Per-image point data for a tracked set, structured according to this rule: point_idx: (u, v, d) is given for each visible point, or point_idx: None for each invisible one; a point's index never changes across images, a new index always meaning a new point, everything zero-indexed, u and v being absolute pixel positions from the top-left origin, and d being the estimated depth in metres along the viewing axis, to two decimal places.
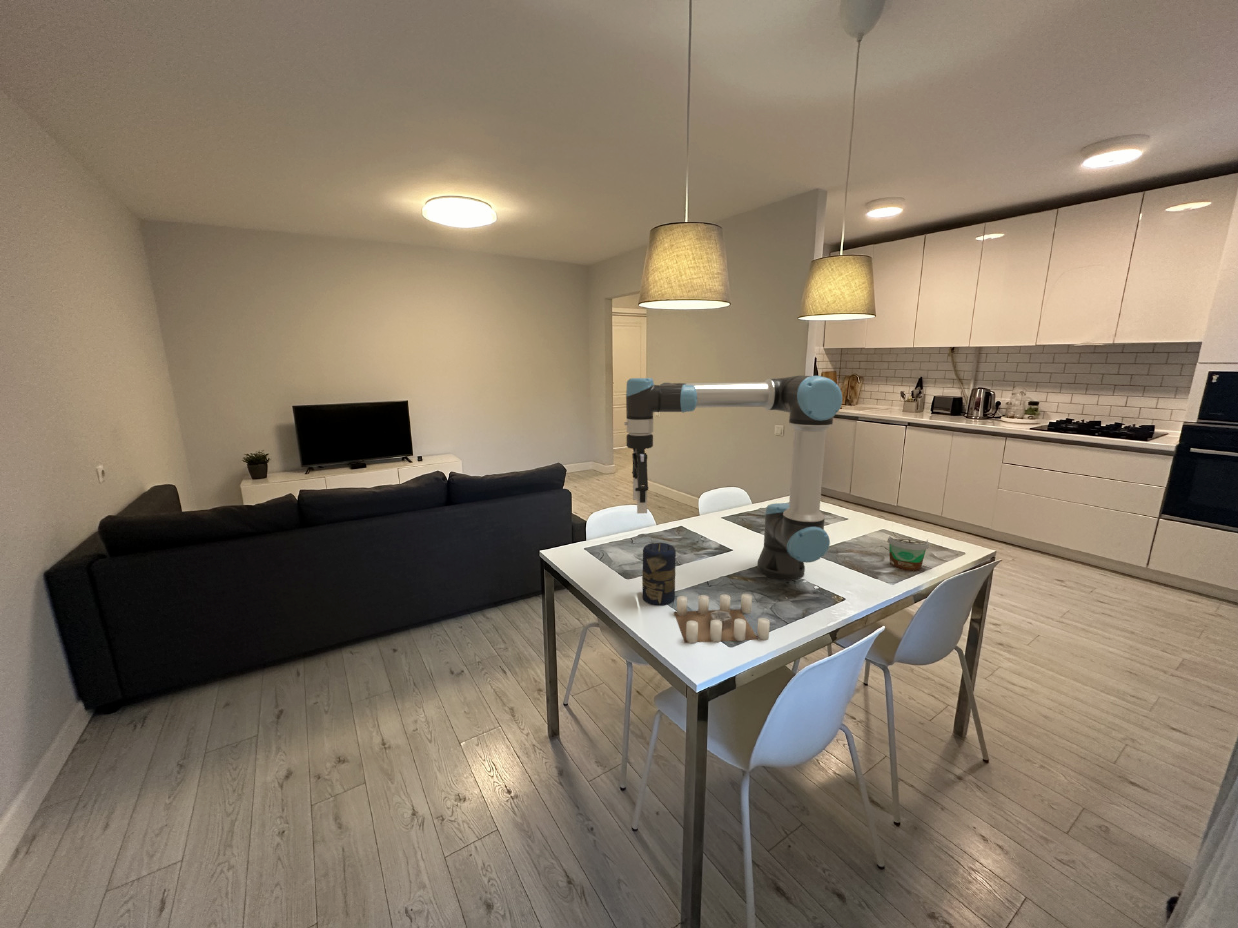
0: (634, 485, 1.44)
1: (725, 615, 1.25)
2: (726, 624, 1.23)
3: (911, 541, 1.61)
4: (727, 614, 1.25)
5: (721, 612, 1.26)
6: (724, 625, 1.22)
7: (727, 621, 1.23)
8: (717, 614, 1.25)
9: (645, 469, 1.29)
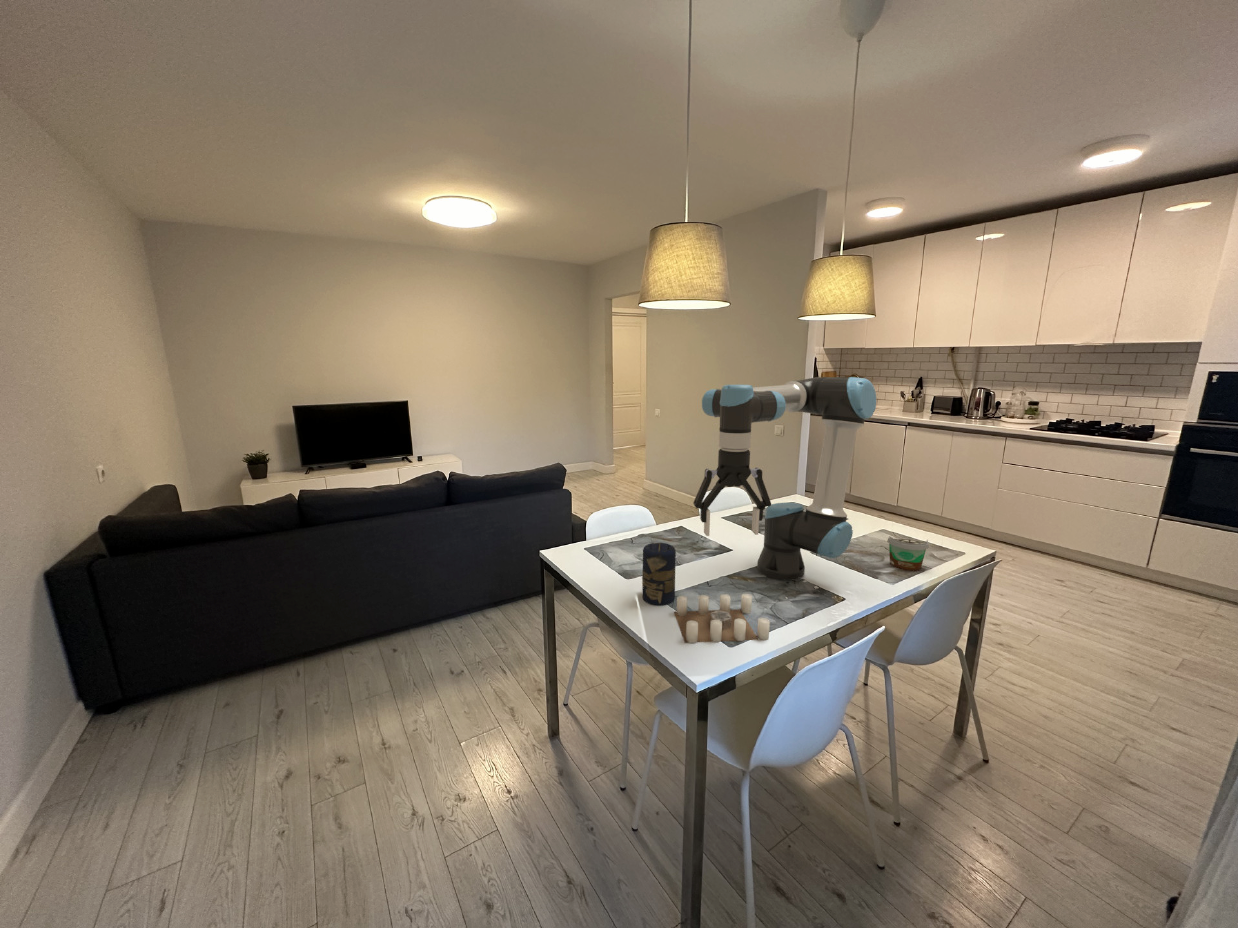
0: (753, 514, 1.21)
1: (725, 615, 1.25)
2: (726, 624, 1.23)
3: (911, 541, 1.61)
4: (727, 614, 1.25)
5: (721, 612, 1.26)
6: (724, 625, 1.22)
7: (727, 621, 1.23)
8: (717, 614, 1.25)
9: (703, 486, 1.17)
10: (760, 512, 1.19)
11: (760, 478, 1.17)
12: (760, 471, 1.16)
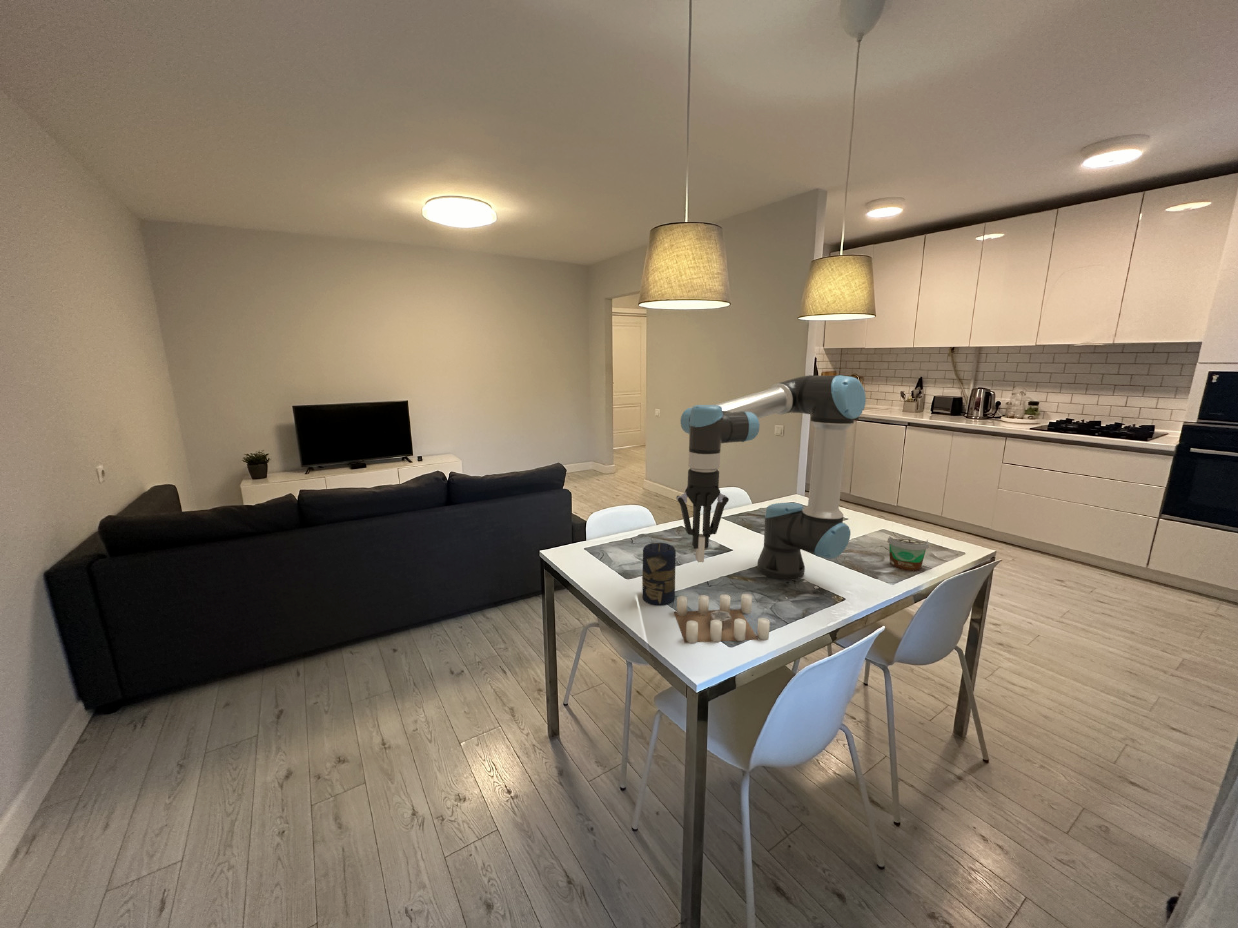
0: None
1: (725, 615, 1.25)
2: (726, 624, 1.23)
3: (911, 541, 1.61)
4: (727, 614, 1.25)
5: (721, 612, 1.26)
6: (724, 625, 1.22)
7: (727, 621, 1.23)
8: (717, 614, 1.25)
9: (683, 513, 1.17)
10: (706, 540, 1.19)
11: (723, 505, 1.17)
12: (727, 499, 1.17)
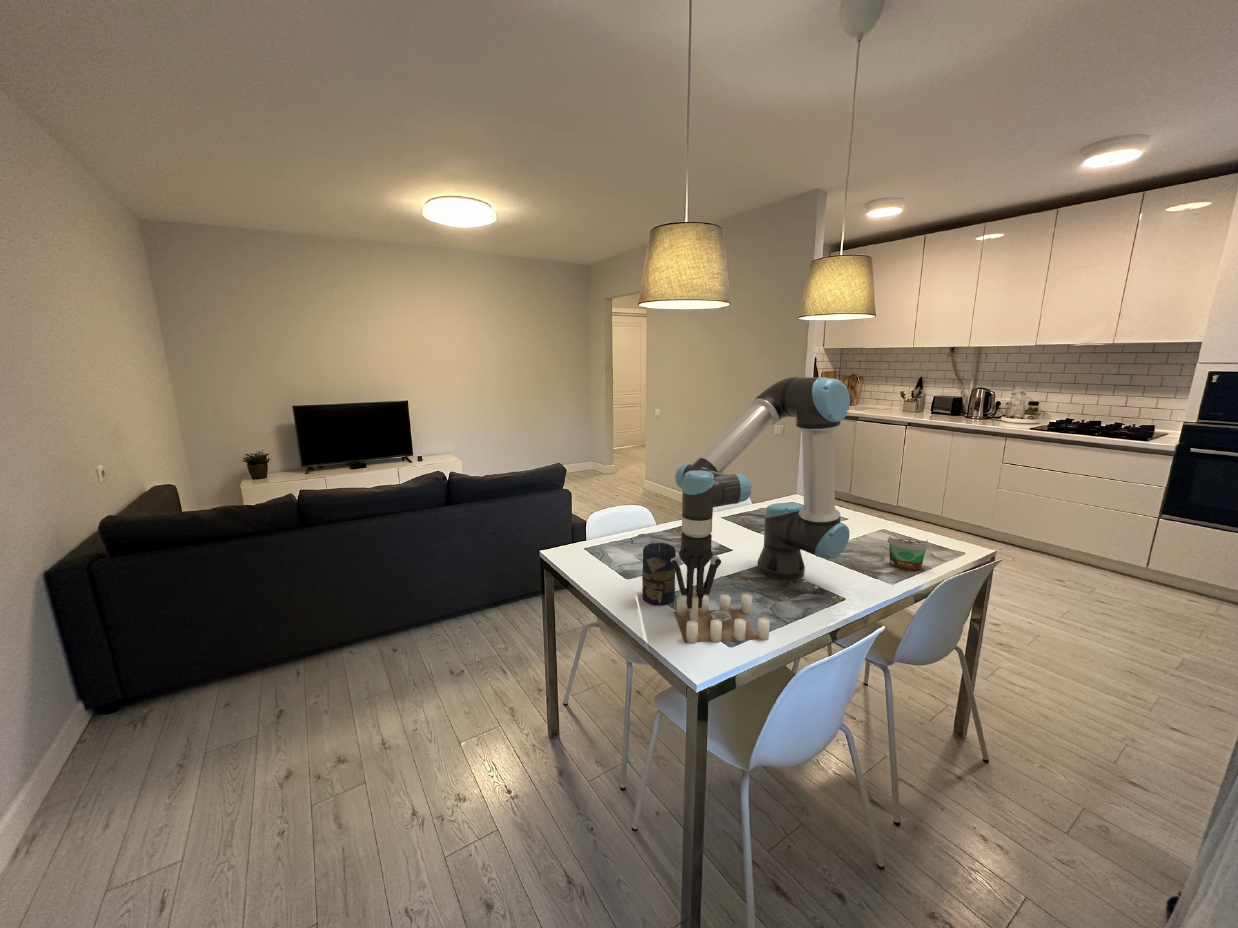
0: None
1: (725, 615, 1.25)
2: (726, 624, 1.23)
3: (911, 541, 1.61)
4: (727, 614, 1.25)
5: (721, 612, 1.26)
6: (724, 625, 1.22)
7: (727, 621, 1.23)
8: (717, 614, 1.25)
9: (676, 575, 1.21)
10: (699, 600, 1.23)
11: (715, 567, 1.21)
12: (719, 561, 1.20)
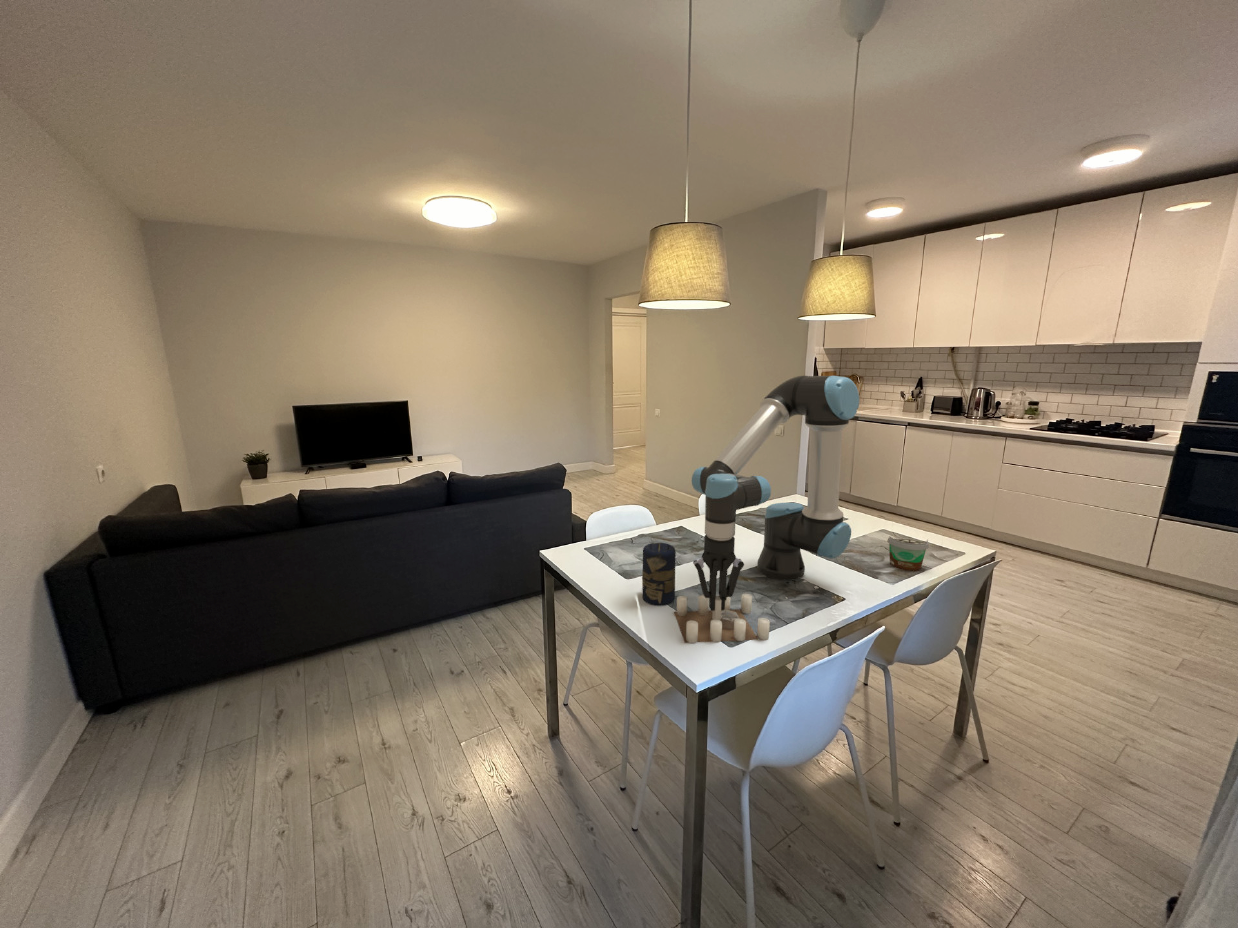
0: None
1: (733, 614, 1.25)
2: None
3: (911, 541, 1.61)
4: (735, 614, 1.25)
5: (729, 612, 1.26)
6: (732, 625, 1.23)
7: None
8: (725, 614, 1.25)
9: (700, 578, 1.21)
10: (722, 602, 1.23)
11: (738, 570, 1.21)
12: (742, 564, 1.21)
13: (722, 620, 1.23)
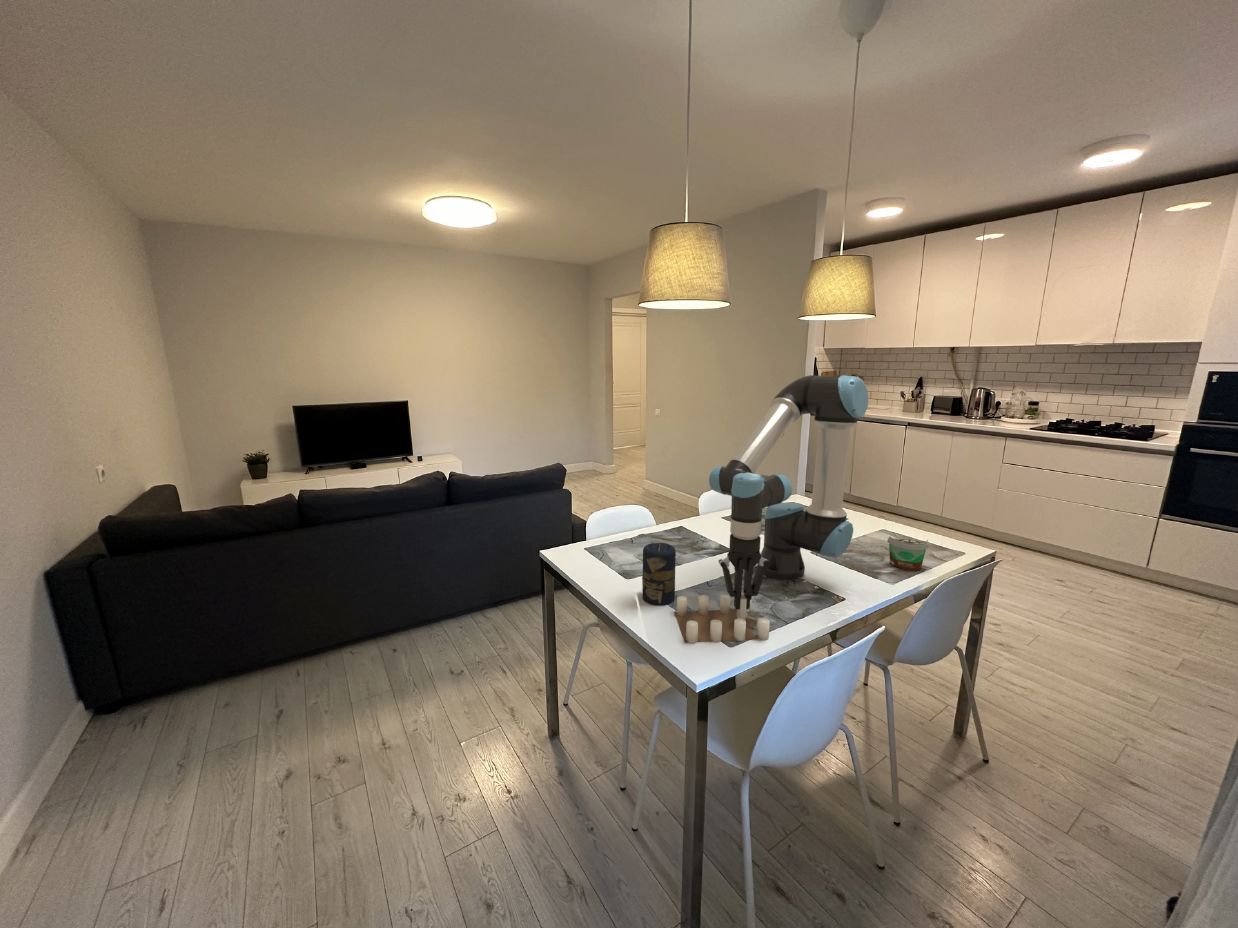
0: None
1: (758, 614, 1.25)
2: None
3: (911, 541, 1.61)
4: (760, 613, 1.26)
5: (753, 611, 1.27)
6: (757, 624, 1.23)
7: None
8: (750, 613, 1.26)
9: (725, 577, 1.22)
10: (747, 601, 1.24)
11: (764, 569, 1.22)
12: (768, 563, 1.21)
13: (747, 619, 1.24)
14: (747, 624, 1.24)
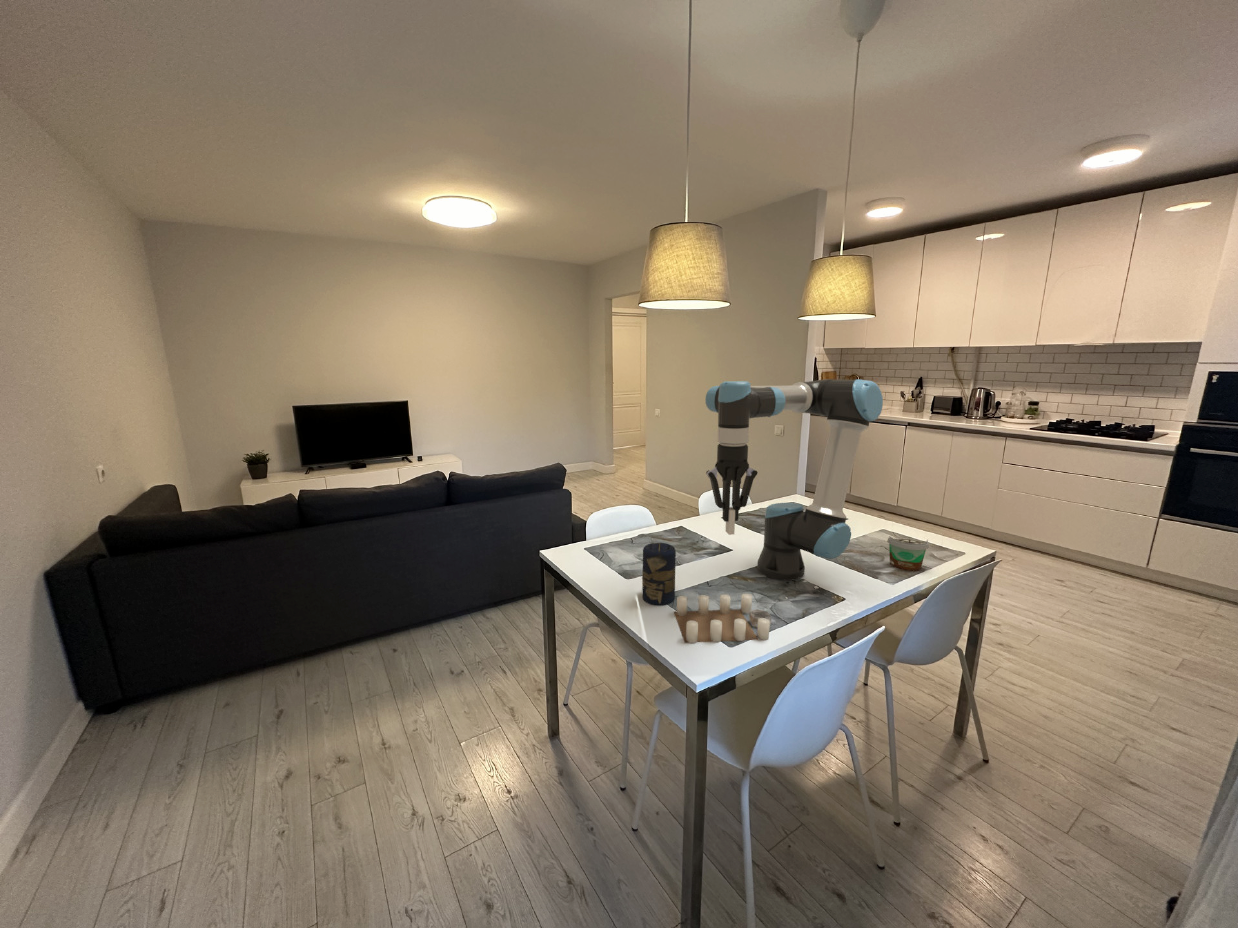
0: None
1: (765, 614, 1.25)
2: None
3: (911, 541, 1.61)
4: (766, 613, 1.26)
5: (760, 611, 1.27)
6: None
7: None
8: (757, 613, 1.26)
9: (713, 487, 1.21)
10: (736, 512, 1.23)
11: (752, 478, 1.21)
12: (756, 472, 1.21)
13: (754, 619, 1.24)
14: (754, 624, 1.24)
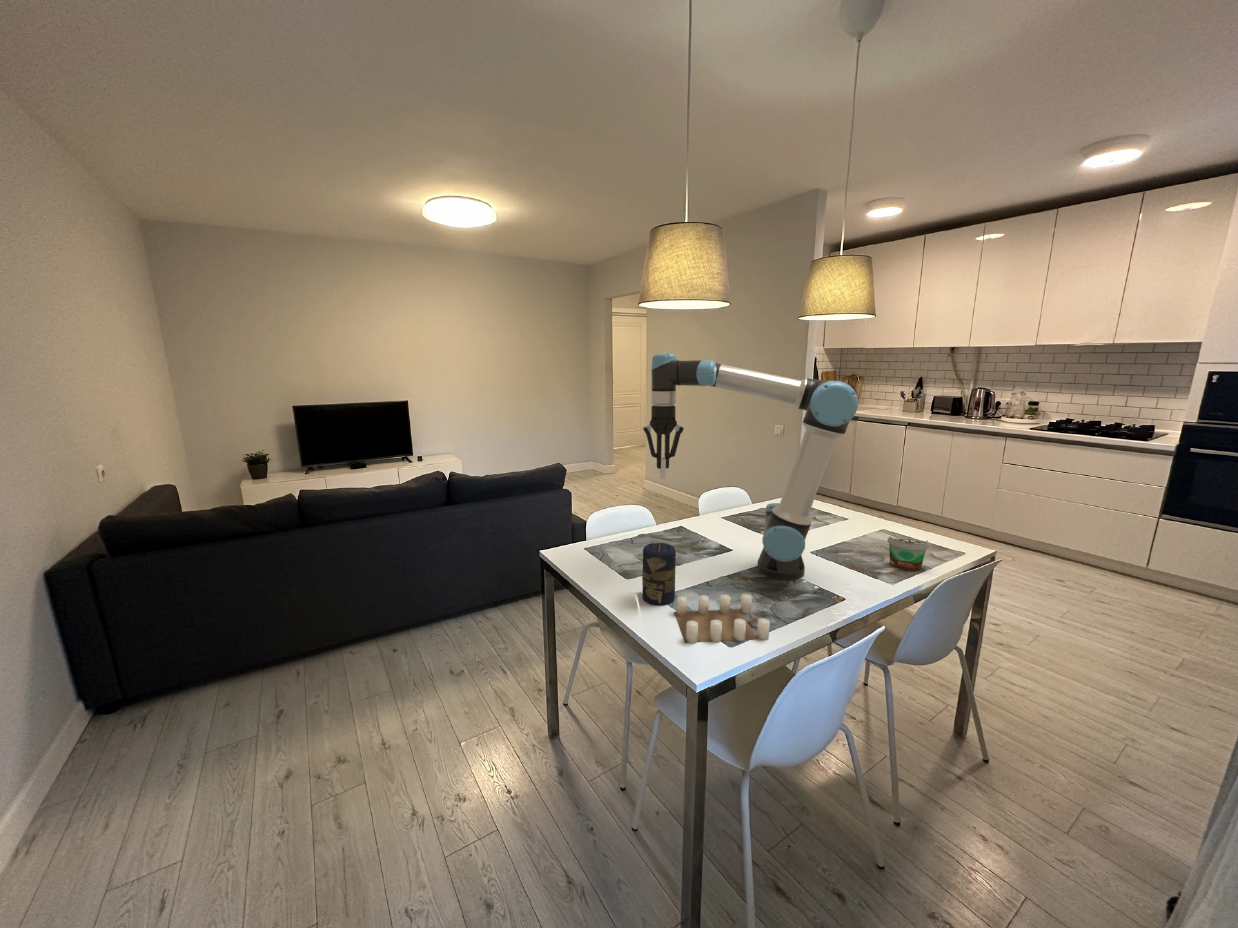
0: None
1: (765, 614, 1.25)
2: None
3: (911, 541, 1.61)
4: (766, 613, 1.26)
5: (760, 611, 1.27)
6: None
7: None
8: (757, 613, 1.26)
9: (648, 440, 1.50)
10: (667, 461, 1.52)
11: (679, 433, 1.50)
12: (682, 428, 1.49)
13: (754, 619, 1.24)
14: (754, 624, 1.24)
